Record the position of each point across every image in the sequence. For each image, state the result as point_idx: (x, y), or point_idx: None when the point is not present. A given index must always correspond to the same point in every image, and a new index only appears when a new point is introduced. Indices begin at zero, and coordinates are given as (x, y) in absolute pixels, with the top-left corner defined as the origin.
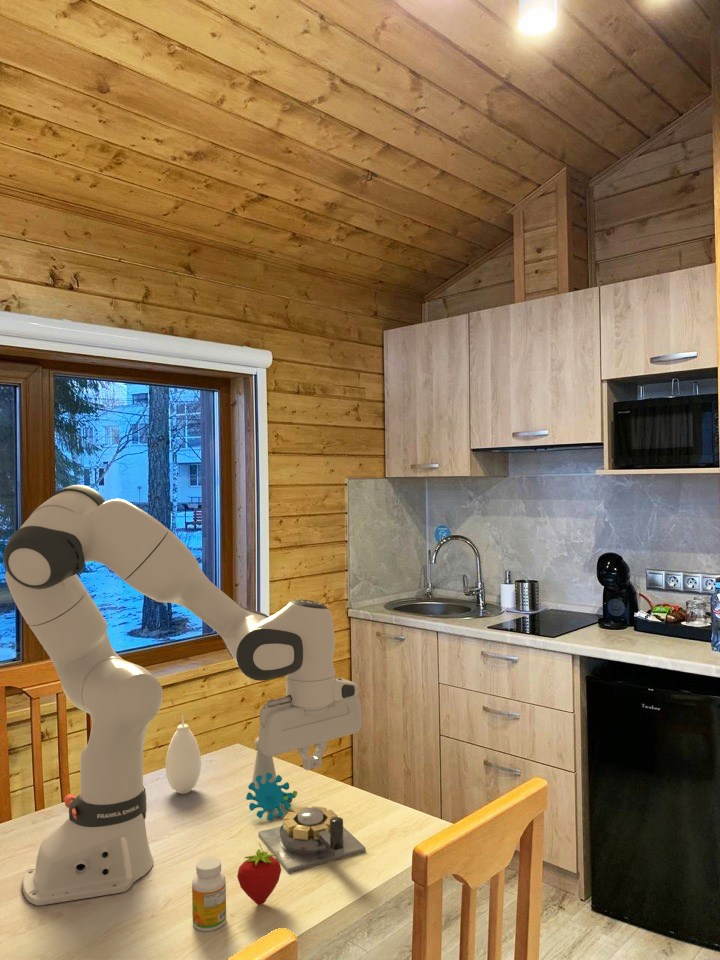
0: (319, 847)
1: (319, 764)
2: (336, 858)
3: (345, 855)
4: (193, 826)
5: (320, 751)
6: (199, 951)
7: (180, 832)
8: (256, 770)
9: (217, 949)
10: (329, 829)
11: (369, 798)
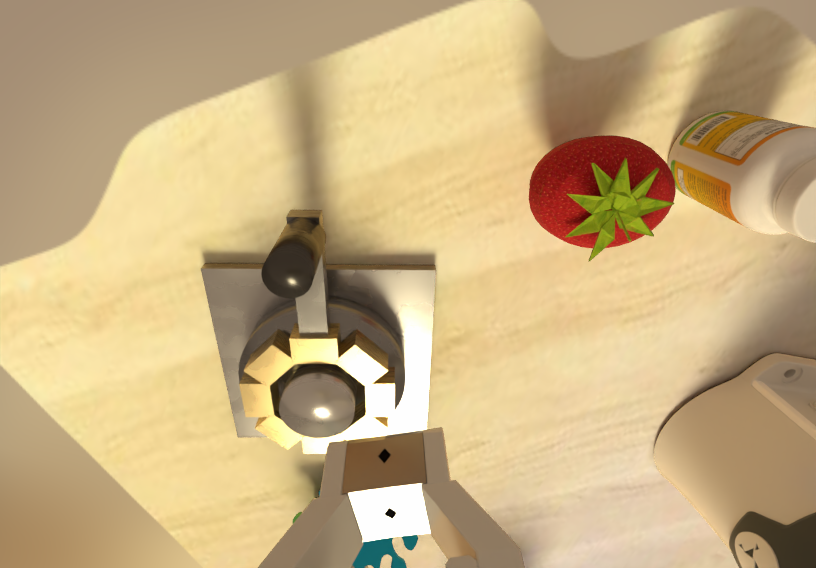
0: (330, 304)
1: (344, 450)
2: None
3: None
4: (526, 503)
5: (319, 545)
6: (806, 37)
7: (558, 494)
8: None
9: (768, 19)
10: (283, 341)
11: (115, 467)
